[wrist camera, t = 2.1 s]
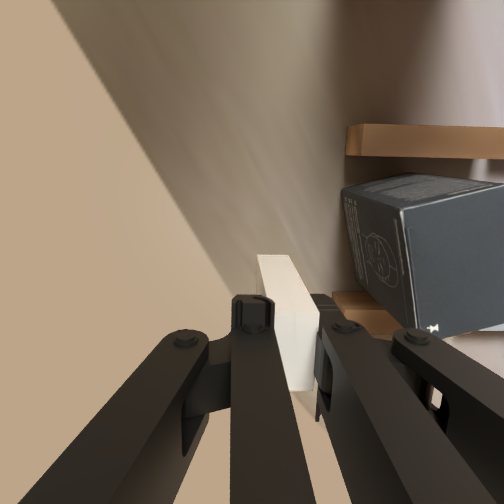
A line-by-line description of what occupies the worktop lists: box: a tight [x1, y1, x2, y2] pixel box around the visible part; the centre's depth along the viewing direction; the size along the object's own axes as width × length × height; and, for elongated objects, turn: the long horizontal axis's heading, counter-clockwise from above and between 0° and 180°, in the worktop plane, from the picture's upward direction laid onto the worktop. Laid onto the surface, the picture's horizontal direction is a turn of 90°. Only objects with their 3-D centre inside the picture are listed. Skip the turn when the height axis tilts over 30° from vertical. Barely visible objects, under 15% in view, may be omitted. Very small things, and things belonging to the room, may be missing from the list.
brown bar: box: [332, 123, 504, 334], centre depth 27 cm, size 15×10×4 cm, turn 179°
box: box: [341, 173, 504, 339], centre depth 24 cm, size 8×6×11 cm
